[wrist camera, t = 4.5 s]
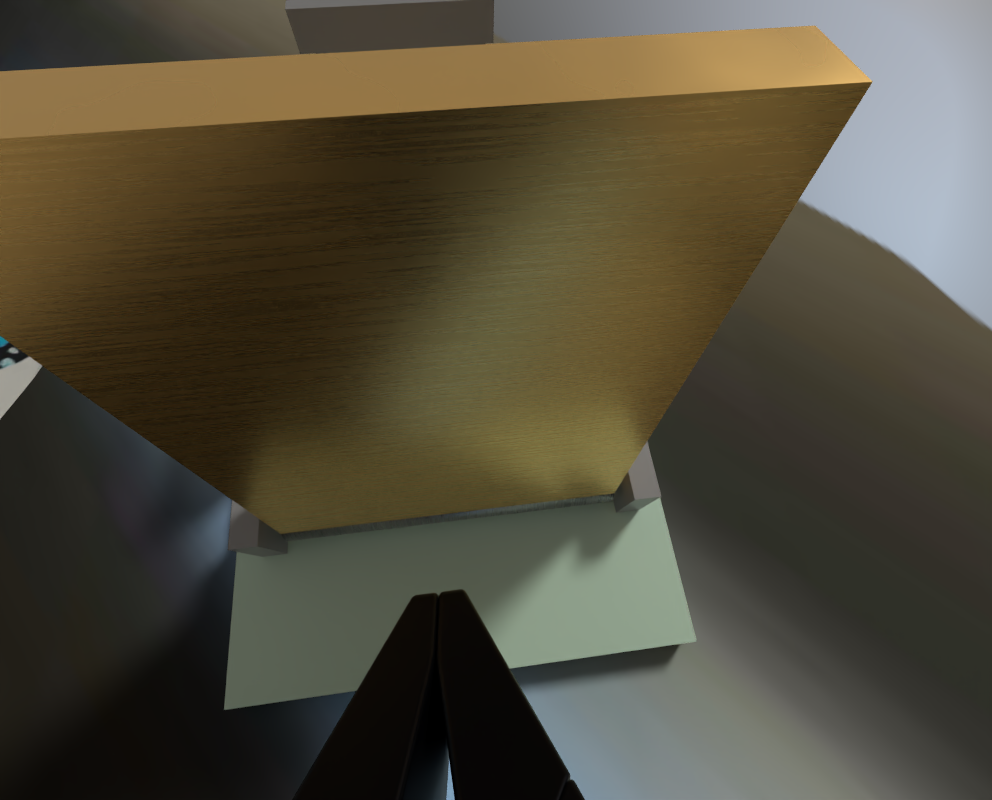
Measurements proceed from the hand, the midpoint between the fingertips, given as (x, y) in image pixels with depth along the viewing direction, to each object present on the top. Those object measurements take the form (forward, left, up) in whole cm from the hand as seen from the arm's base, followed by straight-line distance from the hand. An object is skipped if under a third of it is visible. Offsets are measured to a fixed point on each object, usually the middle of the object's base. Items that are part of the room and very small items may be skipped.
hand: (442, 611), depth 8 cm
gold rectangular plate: (+2, +2, -6) cm, 7 cm away
